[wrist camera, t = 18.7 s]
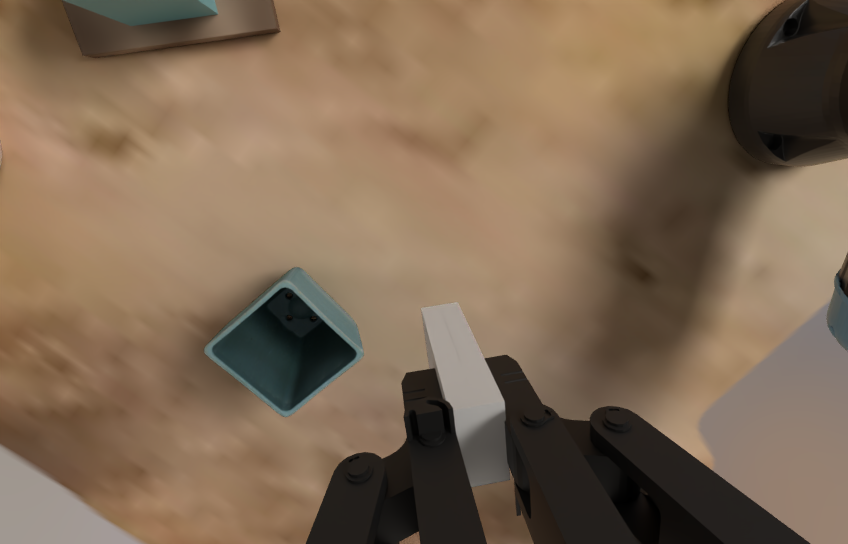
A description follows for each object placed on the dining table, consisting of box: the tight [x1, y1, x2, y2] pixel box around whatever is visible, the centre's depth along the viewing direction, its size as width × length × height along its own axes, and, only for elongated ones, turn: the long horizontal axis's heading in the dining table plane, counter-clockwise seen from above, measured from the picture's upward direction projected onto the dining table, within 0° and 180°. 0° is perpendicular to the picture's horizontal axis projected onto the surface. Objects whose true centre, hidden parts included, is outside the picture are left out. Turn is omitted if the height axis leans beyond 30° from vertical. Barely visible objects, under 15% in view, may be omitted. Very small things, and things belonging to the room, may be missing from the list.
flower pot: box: [204, 267, 364, 417], centre depth 38 cm, size 9×9×9 cm
